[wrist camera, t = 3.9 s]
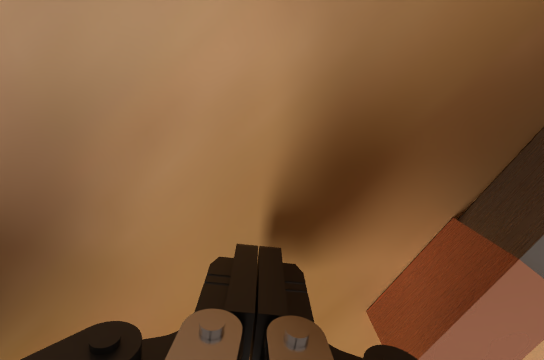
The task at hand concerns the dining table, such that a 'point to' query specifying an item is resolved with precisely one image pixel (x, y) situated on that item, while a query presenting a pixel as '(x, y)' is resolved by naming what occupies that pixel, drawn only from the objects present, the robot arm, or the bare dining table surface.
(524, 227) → the tong arm
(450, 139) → the dining table surface
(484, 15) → the dining table surface
